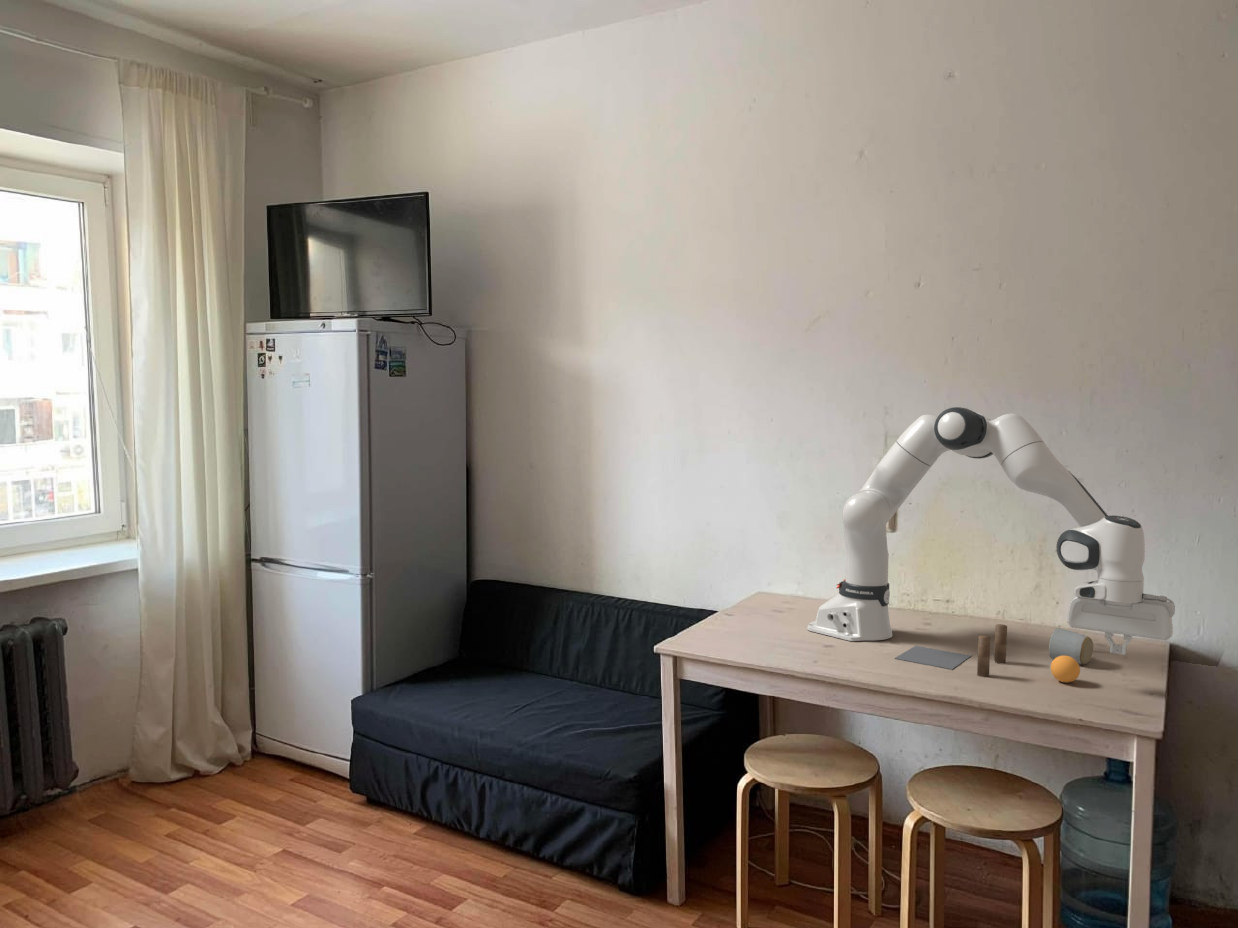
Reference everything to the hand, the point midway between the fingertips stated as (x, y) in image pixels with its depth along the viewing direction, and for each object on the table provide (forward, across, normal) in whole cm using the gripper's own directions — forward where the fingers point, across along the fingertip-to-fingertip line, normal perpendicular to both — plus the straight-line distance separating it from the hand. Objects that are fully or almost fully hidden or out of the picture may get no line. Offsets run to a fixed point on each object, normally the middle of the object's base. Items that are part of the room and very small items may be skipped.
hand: (1117, 653), depth 203 cm
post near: (+8, +26, +7) cm, 29 cm away
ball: (+5, +10, 0) cm, 12 cm away
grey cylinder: (+9, +13, -19) cm, 25 cm away
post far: (+8, +26, -6) cm, 28 cm away
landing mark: (+8, +40, 0) cm, 41 cm away
